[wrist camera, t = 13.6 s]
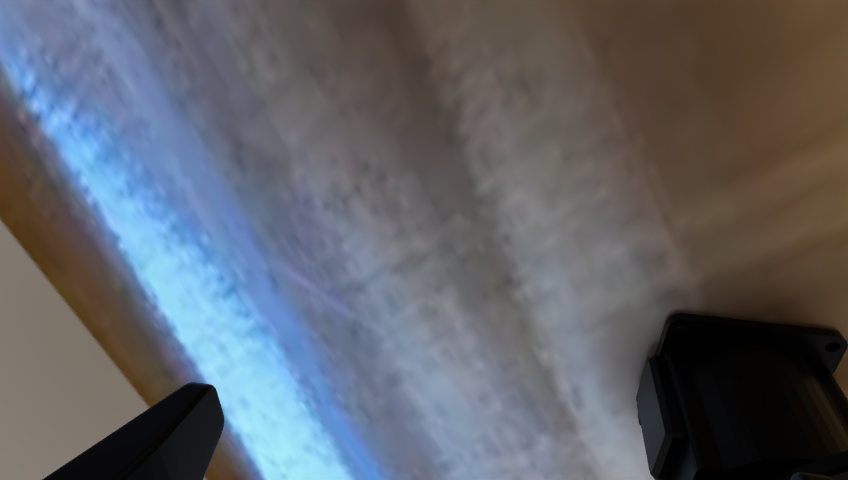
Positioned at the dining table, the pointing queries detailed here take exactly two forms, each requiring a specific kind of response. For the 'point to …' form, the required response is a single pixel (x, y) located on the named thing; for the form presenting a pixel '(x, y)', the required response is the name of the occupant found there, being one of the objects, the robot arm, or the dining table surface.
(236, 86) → the dining table surface
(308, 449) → the dining table surface
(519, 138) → the dining table surface
